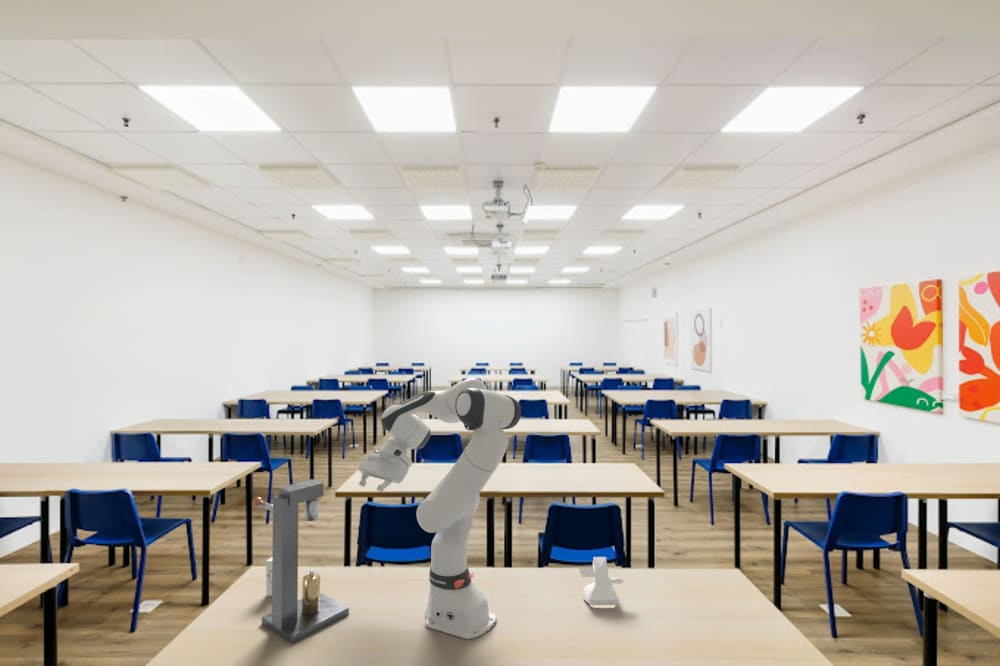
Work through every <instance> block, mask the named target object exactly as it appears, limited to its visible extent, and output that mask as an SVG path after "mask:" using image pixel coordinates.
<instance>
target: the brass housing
mask: <svg viewBox="0 0 1000 666" xmlns="http://www.w3.org/2000/svg"><path fill="white" fill-rule="evenodd" d="M301 592H302V596H301V599H302V613H303V614H306V615H310V614H314V613H316V612H318V611H319V607H320V593H321V575H320V573H315V571H314V569H310V570H309V573H308V574H306V575H304V576H303V577H302V591H301Z"/></svg>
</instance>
